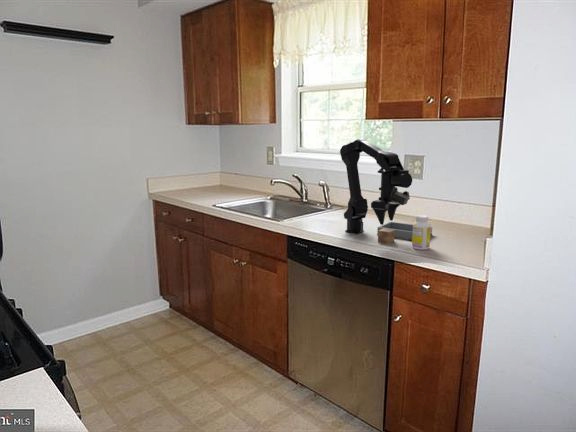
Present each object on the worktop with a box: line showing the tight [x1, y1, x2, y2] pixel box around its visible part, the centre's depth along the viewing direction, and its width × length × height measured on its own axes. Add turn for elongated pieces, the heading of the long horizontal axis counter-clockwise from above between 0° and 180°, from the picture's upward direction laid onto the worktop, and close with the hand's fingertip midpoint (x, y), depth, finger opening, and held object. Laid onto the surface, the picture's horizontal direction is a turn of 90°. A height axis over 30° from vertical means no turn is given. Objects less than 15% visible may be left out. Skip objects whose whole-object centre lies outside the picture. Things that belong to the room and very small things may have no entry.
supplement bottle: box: [411, 214, 432, 251], centre depth 169 cm, size 7×7×13 cm
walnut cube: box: [377, 228, 395, 245], centre depth 179 cm, size 5×5×5 cm
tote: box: [376, 221, 433, 241], centre depth 190 cm, size 20×14×4 cm
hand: (386, 222), depth 178 cm, fingers open, 9 cm apart
